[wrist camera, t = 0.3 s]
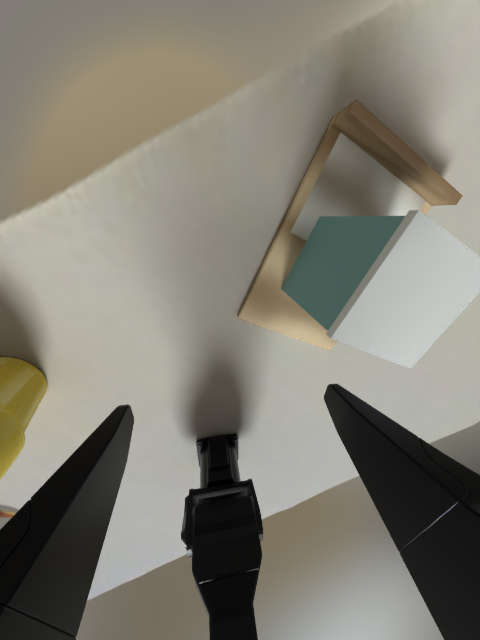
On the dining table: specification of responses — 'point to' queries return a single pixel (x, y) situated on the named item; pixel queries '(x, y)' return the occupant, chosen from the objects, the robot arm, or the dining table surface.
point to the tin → (384, 282)
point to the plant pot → (17, 405)
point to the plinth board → (341, 209)
